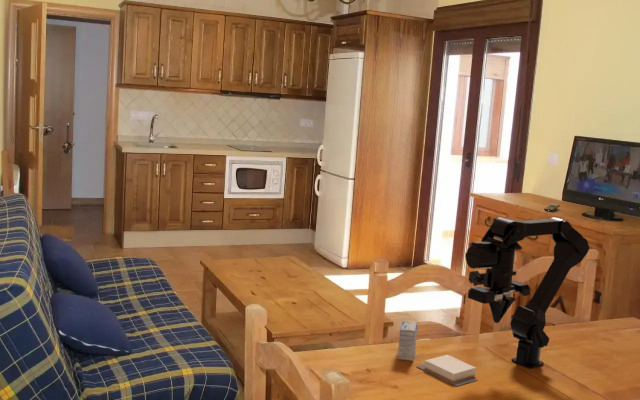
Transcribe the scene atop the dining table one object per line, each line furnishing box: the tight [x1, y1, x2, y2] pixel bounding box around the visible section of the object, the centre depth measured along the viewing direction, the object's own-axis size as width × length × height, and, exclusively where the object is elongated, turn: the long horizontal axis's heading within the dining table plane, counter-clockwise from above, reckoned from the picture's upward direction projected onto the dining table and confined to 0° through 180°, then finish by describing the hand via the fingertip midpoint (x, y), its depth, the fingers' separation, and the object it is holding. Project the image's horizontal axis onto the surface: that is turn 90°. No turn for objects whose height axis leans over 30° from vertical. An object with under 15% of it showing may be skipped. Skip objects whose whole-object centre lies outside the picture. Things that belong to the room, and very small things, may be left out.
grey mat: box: [416, 363, 478, 387], centre depth 180 cm, size 8×14×1 cm, turn 37°
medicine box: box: [397, 320, 418, 362], centre depth 190 cm, size 8×4×9 cm, turn 168°
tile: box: [424, 354, 477, 382], centre depth 180 cm, size 2×10×8 cm
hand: (496, 322), depth 183 cm, fingers closed
